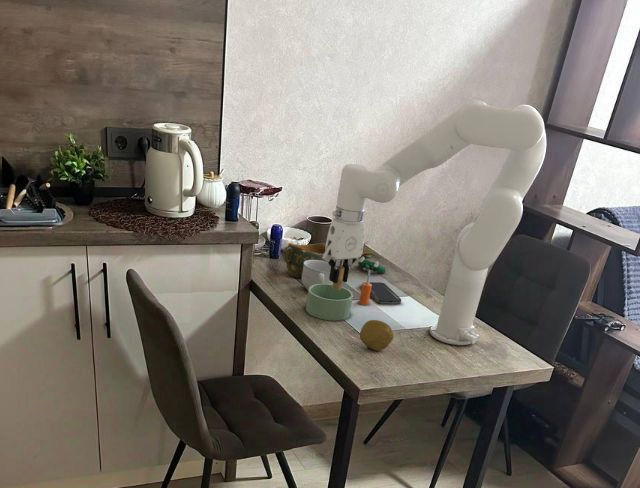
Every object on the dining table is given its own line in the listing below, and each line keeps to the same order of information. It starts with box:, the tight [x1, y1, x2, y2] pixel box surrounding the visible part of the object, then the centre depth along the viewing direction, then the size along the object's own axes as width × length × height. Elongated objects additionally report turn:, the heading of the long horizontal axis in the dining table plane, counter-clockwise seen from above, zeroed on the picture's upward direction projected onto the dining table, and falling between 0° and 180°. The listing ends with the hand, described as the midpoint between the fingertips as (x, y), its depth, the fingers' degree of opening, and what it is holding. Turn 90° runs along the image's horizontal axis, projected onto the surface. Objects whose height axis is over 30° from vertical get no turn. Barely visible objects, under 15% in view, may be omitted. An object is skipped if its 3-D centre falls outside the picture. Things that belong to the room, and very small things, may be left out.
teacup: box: [301, 260, 333, 291], centre depth 219 cm, size 14×11×8 cm
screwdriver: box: [358, 270, 372, 306], centre depth 215 cm, size 3×3×10 cm
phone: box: [361, 281, 402, 305], centre depth 225 cm, size 8×1×15 cm
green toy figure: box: [357, 256, 387, 274], centre depth 243 cm, size 9×4×6 cm
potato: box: [359, 319, 394, 352], centre depth 189 cm, size 7×8×8 cm
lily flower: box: [361, 240, 377, 258], centre depth 257 cm, size 12×12×5 cm
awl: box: [332, 259, 345, 290], centre depth 200 cm, size 3×3×10 cm
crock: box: [305, 284, 354, 322], centre depth 208 cm, size 13×13×6 cm
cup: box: [281, 242, 331, 279], centre depth 232 cm, size 13×20×10 cm, turn 105°
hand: (337, 280), depth 202 cm, fingers closed on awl, 2 cm apart
